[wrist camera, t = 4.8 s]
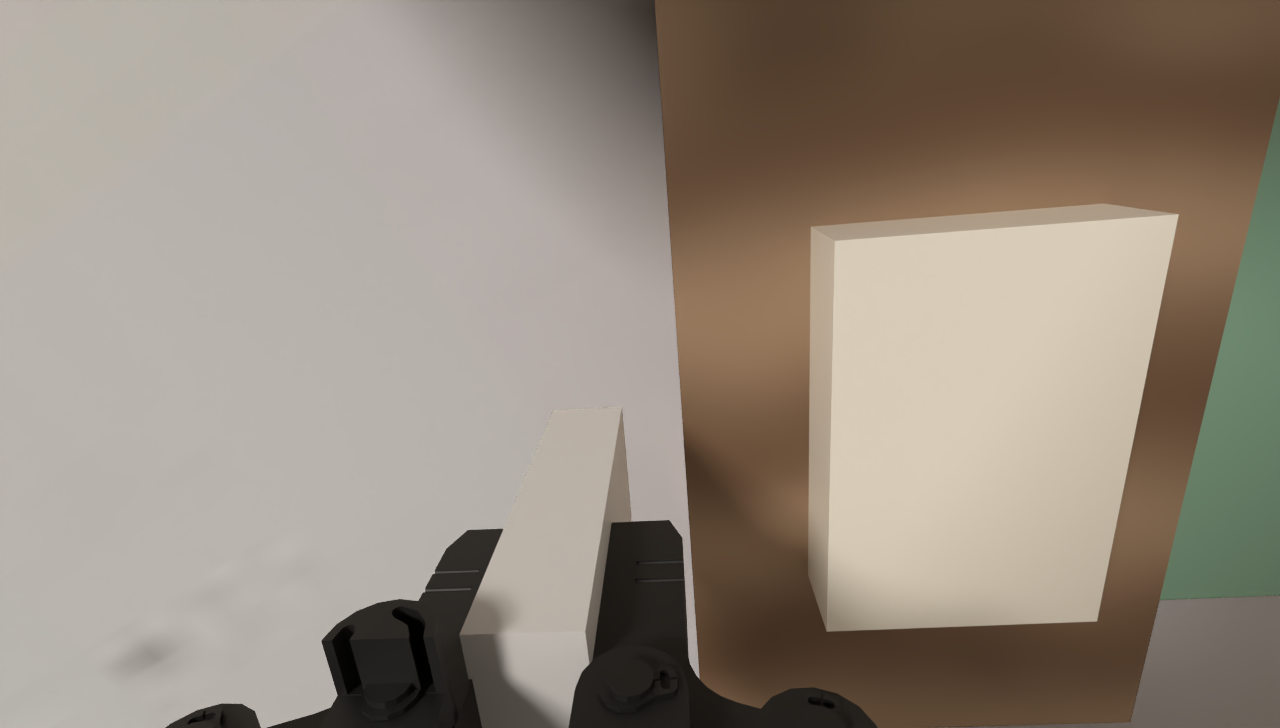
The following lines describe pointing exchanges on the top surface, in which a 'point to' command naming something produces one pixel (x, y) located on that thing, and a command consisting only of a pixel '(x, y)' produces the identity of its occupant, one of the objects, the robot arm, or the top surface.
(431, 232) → the top surface
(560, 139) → the top surface
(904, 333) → the tile
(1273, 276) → the mat
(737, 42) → the wood grain block
